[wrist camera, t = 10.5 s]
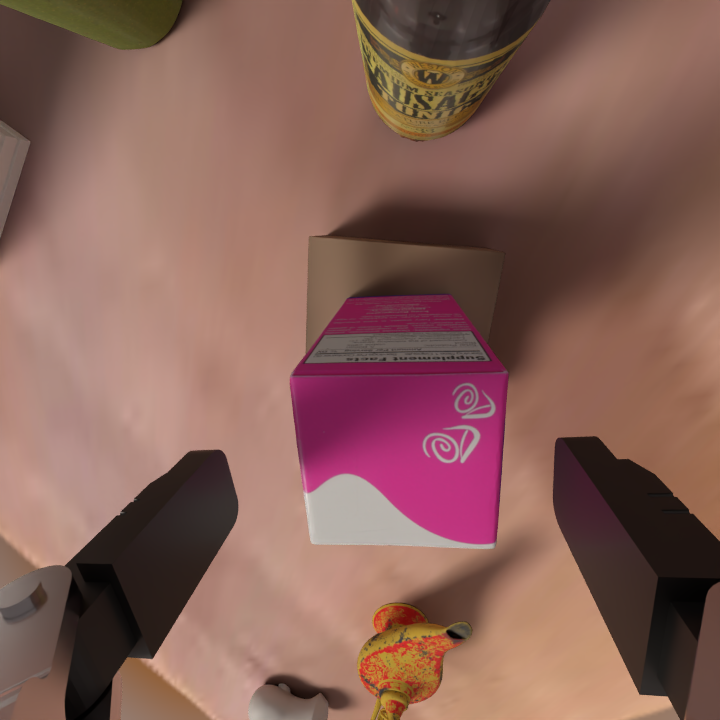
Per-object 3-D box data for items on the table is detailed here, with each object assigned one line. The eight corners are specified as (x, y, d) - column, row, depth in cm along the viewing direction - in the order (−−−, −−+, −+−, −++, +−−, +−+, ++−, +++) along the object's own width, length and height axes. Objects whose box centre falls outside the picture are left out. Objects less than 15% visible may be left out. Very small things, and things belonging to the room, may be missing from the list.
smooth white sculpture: (259, 682, 42) (258, 669, 39) (329, 703, 41) (334, 692, 38) (242, 736, 38) (239, 727, 35) (318, 760, 38) (322, 753, 35)
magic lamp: (493, 559, 31) (536, 726, 20) (401, 683, 37) (397, 859, 27) (416, 526, 31) (420, 677, 20) (336, 656, 37) (308, 822, 27)
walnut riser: (486, 248, 24) (505, 252, 19) (460, 394, 27) (470, 429, 22) (327, 235, 24) (308, 236, 20) (321, 378, 28) (304, 408, 23)
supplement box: (454, 392, 22) (498, 560, 11) (351, 392, 22) (298, 549, 12) (457, 290, 20) (514, 372, 9) (344, 294, 20) (273, 374, 10)
